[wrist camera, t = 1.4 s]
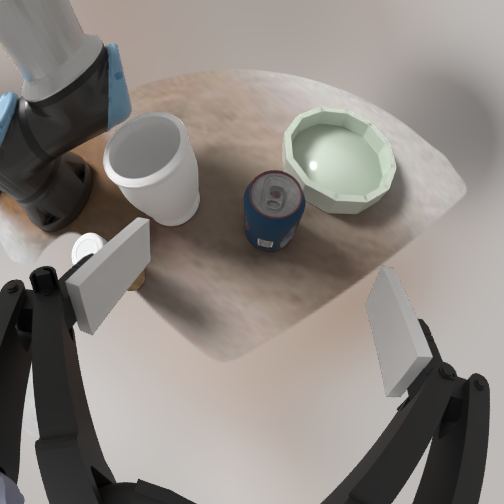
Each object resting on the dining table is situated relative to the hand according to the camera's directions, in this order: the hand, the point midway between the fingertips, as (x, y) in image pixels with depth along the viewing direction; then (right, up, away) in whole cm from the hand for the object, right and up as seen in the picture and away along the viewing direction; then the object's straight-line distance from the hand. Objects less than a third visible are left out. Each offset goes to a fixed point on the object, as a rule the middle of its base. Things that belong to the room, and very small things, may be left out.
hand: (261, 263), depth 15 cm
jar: (-12, +8, +28) cm, 31 cm away
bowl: (+13, +15, +29) cm, 36 cm away
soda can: (+2, +4, +26) cm, 27 cm away
